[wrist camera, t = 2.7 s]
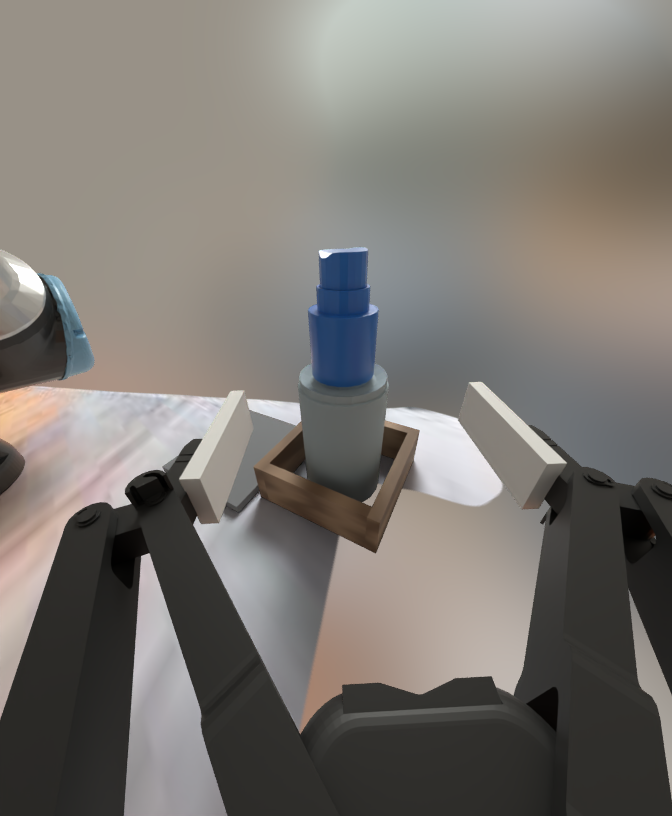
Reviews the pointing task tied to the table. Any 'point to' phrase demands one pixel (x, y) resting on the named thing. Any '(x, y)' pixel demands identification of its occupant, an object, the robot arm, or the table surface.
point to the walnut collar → (330, 505)
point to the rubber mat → (253, 457)
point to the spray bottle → (343, 380)
